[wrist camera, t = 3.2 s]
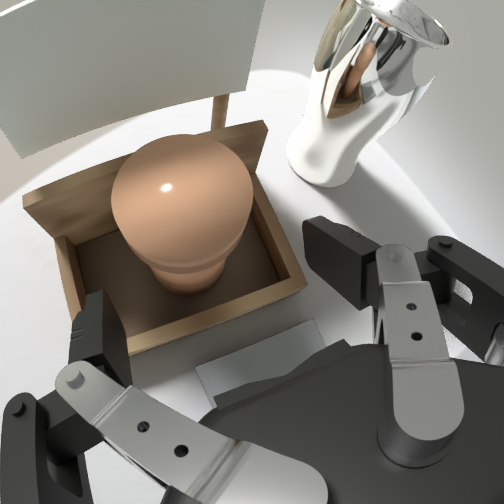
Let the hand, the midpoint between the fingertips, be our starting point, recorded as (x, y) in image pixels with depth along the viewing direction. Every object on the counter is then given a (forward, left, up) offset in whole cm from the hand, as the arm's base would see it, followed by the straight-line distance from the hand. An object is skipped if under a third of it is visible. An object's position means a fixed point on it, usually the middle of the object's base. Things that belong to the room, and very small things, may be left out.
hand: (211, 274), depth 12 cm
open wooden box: (-1, +6, -9) cm, 10 cm away
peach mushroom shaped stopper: (0, +3, -8) cm, 9 cm away
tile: (+2, -6, -9) cm, 11 cm away
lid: (-1, +11, -2) cm, 11 cm away
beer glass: (+13, +8, -9) cm, 18 cm away
